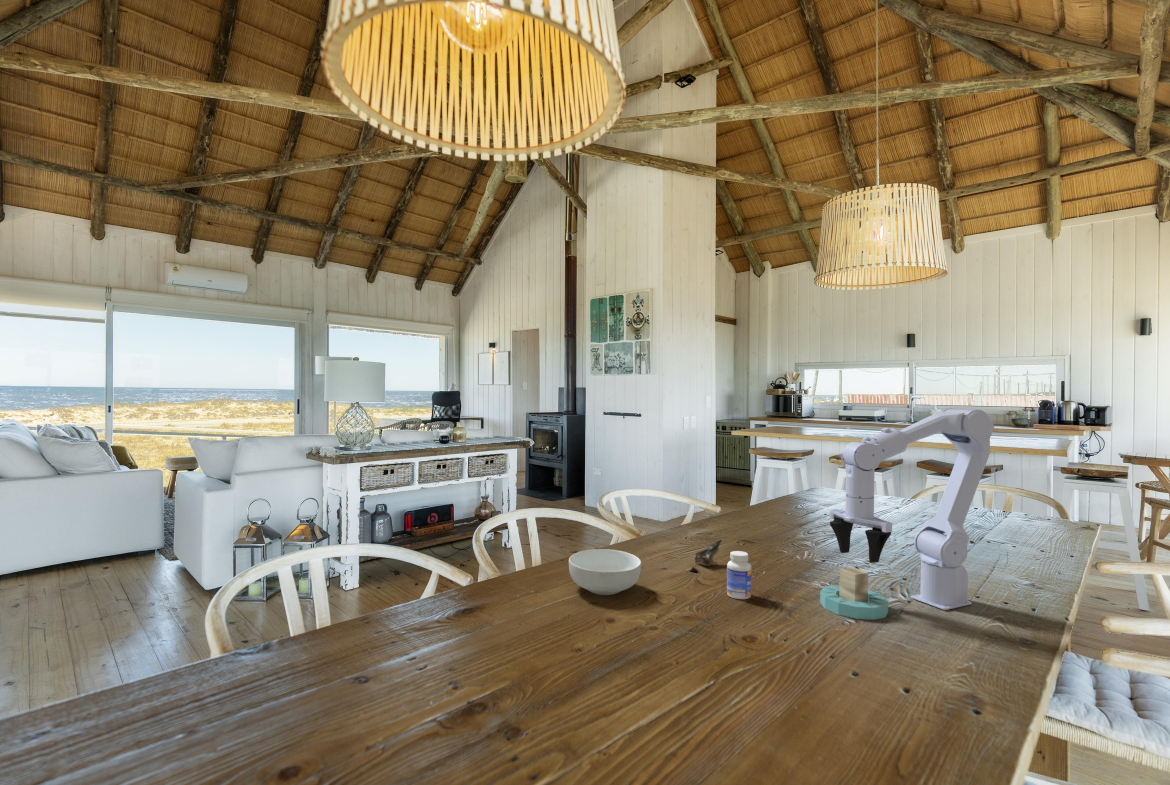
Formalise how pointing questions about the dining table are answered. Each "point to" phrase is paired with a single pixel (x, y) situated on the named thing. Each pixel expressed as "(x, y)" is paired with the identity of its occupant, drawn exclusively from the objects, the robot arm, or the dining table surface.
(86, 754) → the dining table surface
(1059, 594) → the dining table surface
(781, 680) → the dining table surface
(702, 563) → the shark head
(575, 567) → the cereal bowl
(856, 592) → the ash peg
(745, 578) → the pill bottle
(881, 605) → the bead ring
